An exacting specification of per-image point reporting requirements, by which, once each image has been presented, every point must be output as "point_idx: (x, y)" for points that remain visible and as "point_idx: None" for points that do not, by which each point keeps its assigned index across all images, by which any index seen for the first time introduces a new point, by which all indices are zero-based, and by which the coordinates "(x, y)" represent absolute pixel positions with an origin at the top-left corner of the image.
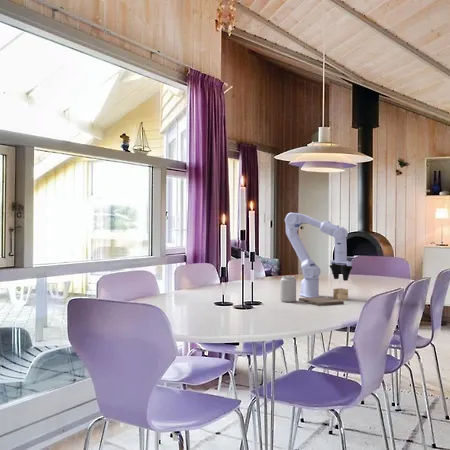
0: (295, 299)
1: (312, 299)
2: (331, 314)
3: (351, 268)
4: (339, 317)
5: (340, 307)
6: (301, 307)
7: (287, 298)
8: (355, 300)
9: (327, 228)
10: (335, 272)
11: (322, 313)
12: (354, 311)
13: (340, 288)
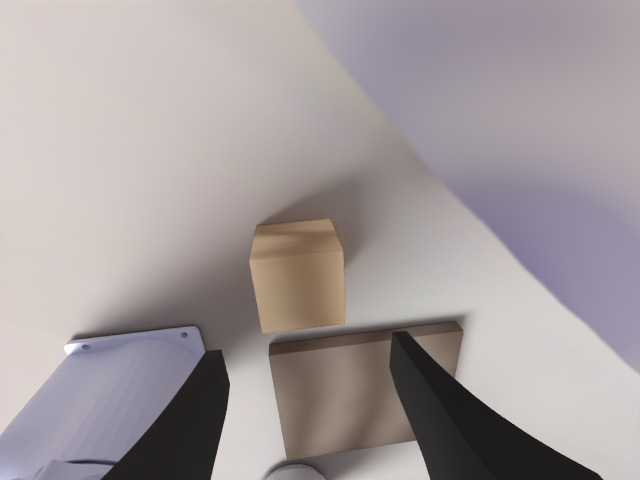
0: (319, 476)
1: (347, 428)
2: (587, 436)
3: (575, 470)
4: (633, 432)
5: (515, 368)
6: None
7: None
8: (384, 191)
9: None
10: (202, 463)
11: (557, 451)
12: (609, 358)
13: (263, 278)
